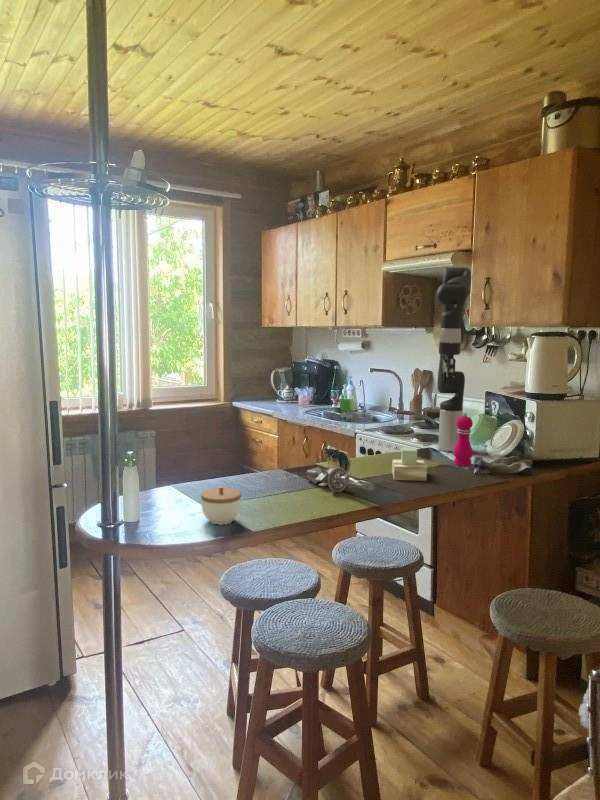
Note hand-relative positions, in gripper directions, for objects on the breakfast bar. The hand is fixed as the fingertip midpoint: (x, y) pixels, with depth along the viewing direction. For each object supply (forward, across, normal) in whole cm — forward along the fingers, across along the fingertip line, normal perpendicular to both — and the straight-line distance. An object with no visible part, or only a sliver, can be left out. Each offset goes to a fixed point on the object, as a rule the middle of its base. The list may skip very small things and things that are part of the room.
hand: (447, 385), depth 218 cm
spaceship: (+30, +37, -38) cm, 61 cm away
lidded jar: (+29, +69, -68) cm, 101 cm away
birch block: (+31, +14, -14) cm, 37 cm away
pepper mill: (+31, -6, +8) cm, 33 cm away
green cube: (+26, +14, -14) cm, 33 cm away
